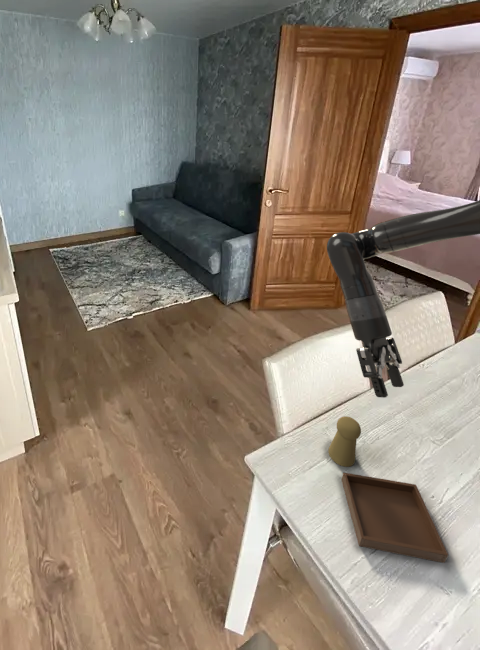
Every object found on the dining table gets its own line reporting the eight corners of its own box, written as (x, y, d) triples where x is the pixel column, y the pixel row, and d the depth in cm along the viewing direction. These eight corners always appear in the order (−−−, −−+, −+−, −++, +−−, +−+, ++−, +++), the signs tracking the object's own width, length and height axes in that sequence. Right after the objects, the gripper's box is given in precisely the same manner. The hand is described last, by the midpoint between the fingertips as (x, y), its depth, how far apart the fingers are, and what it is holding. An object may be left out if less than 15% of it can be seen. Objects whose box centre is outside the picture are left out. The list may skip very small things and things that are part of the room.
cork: (323, 453, 86) (331, 421, 81) (335, 439, 89) (343, 407, 85) (347, 472, 81) (357, 438, 77) (359, 456, 85) (368, 424, 81)
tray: (413, 491, 77) (416, 484, 76) (444, 563, 65) (448, 555, 64) (341, 479, 80) (343, 472, 79) (358, 546, 68) (361, 538, 67)
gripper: (369, 318, 71) (396, 401, 67) (397, 310, 80) (421, 383, 76) (336, 323, 77) (358, 400, 73) (364, 315, 86) (386, 383, 82)
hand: (390, 391), depth 75 cm, fingers open, 8 cm apart
